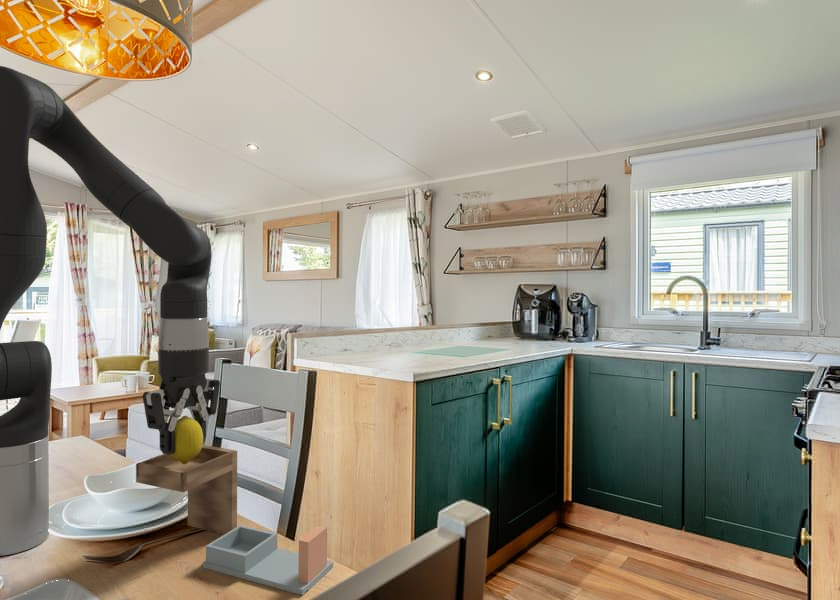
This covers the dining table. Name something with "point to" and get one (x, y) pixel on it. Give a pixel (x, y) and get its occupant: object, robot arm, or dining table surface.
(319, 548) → the grey tray holder base
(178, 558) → the dining table surface
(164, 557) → the dining table surface
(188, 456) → the lemon
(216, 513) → the shelf
